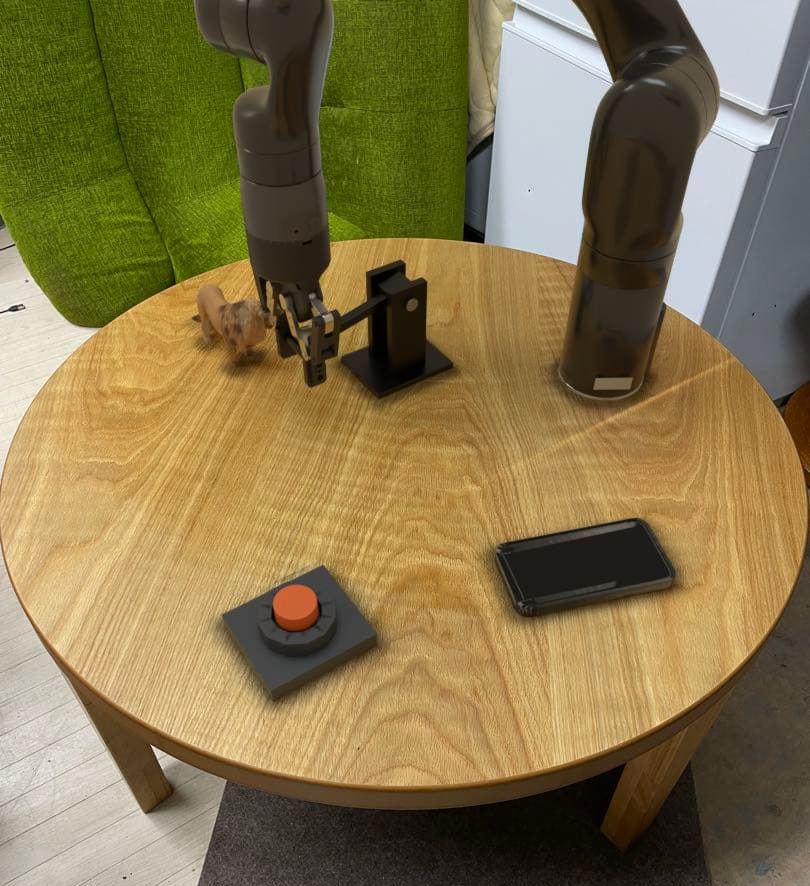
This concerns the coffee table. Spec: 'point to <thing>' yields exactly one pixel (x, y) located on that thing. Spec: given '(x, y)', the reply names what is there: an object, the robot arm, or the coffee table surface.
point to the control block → (299, 635)
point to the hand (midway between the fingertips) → (302, 368)
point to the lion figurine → (232, 321)
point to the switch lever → (357, 310)
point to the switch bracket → (396, 337)
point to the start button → (295, 608)
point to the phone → (583, 566)
